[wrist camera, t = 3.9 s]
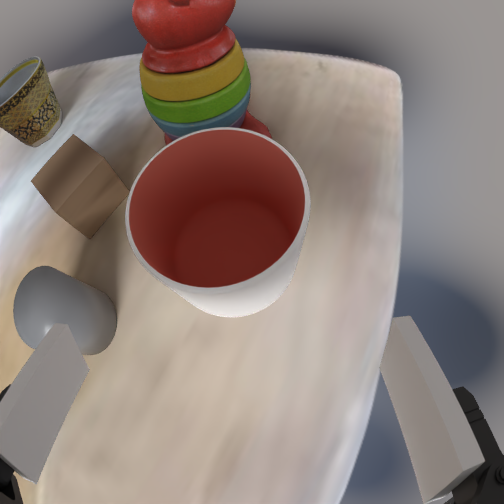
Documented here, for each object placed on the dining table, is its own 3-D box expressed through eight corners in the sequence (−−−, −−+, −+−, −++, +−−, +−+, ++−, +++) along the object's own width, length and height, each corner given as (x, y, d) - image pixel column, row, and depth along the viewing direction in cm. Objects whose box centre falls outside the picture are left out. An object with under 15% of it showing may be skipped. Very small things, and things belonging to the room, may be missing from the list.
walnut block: (62, 208, 28) (30, 181, 22) (99, 167, 29) (73, 134, 24) (90, 239, 27) (55, 212, 21) (130, 193, 28) (104, 158, 22)
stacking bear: (279, 151, 28) (281, -25, 12) (178, 188, 28) (100, 23, 11) (239, 87, 32) (222, -52, 15) (156, 116, 31) (102, -17, 14)
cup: (280, 193, 27) (284, 114, 17) (308, 305, 23) (334, 270, 14) (169, 216, 27) (126, 148, 17) (182, 329, 23) (128, 309, 14)
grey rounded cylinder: (56, 307, 24) (7, 290, 18) (101, 276, 25) (56, 250, 19) (78, 365, 23) (26, 363, 16) (127, 336, 23) (82, 326, 17)
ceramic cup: (85, 105, 33) (54, 53, 24) (41, 164, 30) (-3, 117, 21) (39, 100, 36) (10, 59, 26) (2, 149, 33) (-34, 112, 23)
